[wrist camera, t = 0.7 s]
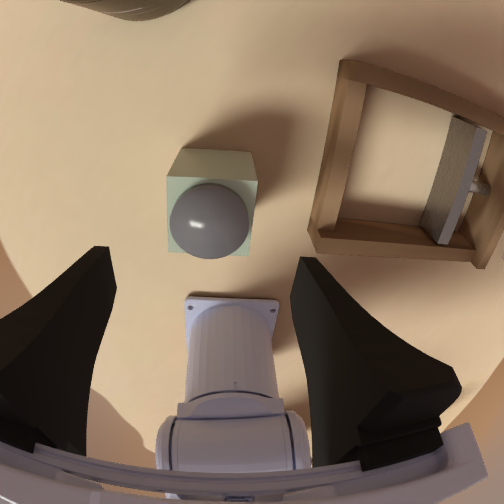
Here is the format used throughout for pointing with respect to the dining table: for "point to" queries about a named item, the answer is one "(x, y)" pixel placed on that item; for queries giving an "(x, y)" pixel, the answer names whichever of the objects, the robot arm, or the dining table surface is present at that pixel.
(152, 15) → the supplement bottle
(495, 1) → the dining table surface
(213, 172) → the jar
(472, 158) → the pusher plate
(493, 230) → the brown wooden shallow box
